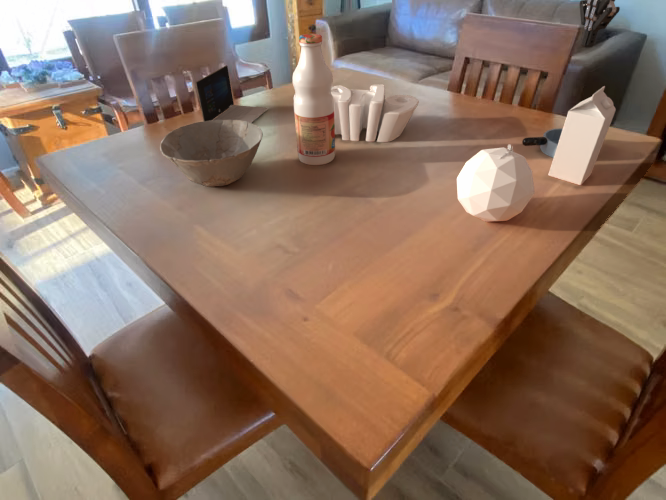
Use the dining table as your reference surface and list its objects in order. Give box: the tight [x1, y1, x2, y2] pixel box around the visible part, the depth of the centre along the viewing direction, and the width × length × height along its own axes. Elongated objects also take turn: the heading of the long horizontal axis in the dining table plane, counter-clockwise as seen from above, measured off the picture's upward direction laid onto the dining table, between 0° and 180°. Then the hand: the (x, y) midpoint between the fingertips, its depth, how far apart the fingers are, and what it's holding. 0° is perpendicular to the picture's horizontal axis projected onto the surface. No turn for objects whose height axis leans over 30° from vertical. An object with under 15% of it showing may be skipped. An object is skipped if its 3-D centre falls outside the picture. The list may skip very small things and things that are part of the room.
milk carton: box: [547, 85, 617, 186], centre depth 91 cm, size 7×7×19 cm
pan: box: [521, 127, 563, 158], centre depth 106 cm, size 18×12×4 cm
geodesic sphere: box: [456, 143, 536, 223], centre depth 81 cm, size 15×14×14 cm
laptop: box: [195, 64, 269, 124], centre depth 126 cm, size 18×12×13 cm
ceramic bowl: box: [159, 120, 264, 188], centre depth 97 cm, size 22×23×10 cm
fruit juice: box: [291, 33, 336, 166], centre depth 99 cm, size 9×9×28 cm
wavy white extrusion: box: [293, 83, 420, 143], centre depth 118 cm, size 35×16×11 cm, turn 76°
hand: (586, 46), depth 105 cm, fingers closed
